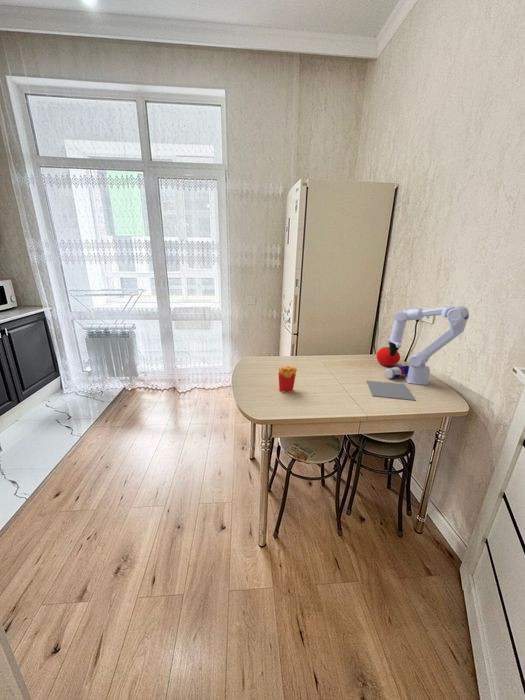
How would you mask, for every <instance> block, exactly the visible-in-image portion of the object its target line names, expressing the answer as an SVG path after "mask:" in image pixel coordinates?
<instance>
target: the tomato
mask: <svg viewBox="0 0 525 700" xmlns="http://www.w3.org/2000/svg"><path fill="white" fill-rule="evenodd" d="M376 360H377V362H378V363H379V364H381V365H383V366H385V367H388V366H389V367H391V366H394V365H397V364H398V363H399V362H400V360H401V355H400V353H399V351H398V350H397V352H396V354H395V355H394V356H390V347H388V346H385V347H381V348H379V349H378V350H377V352H376Z"/></svg>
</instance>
